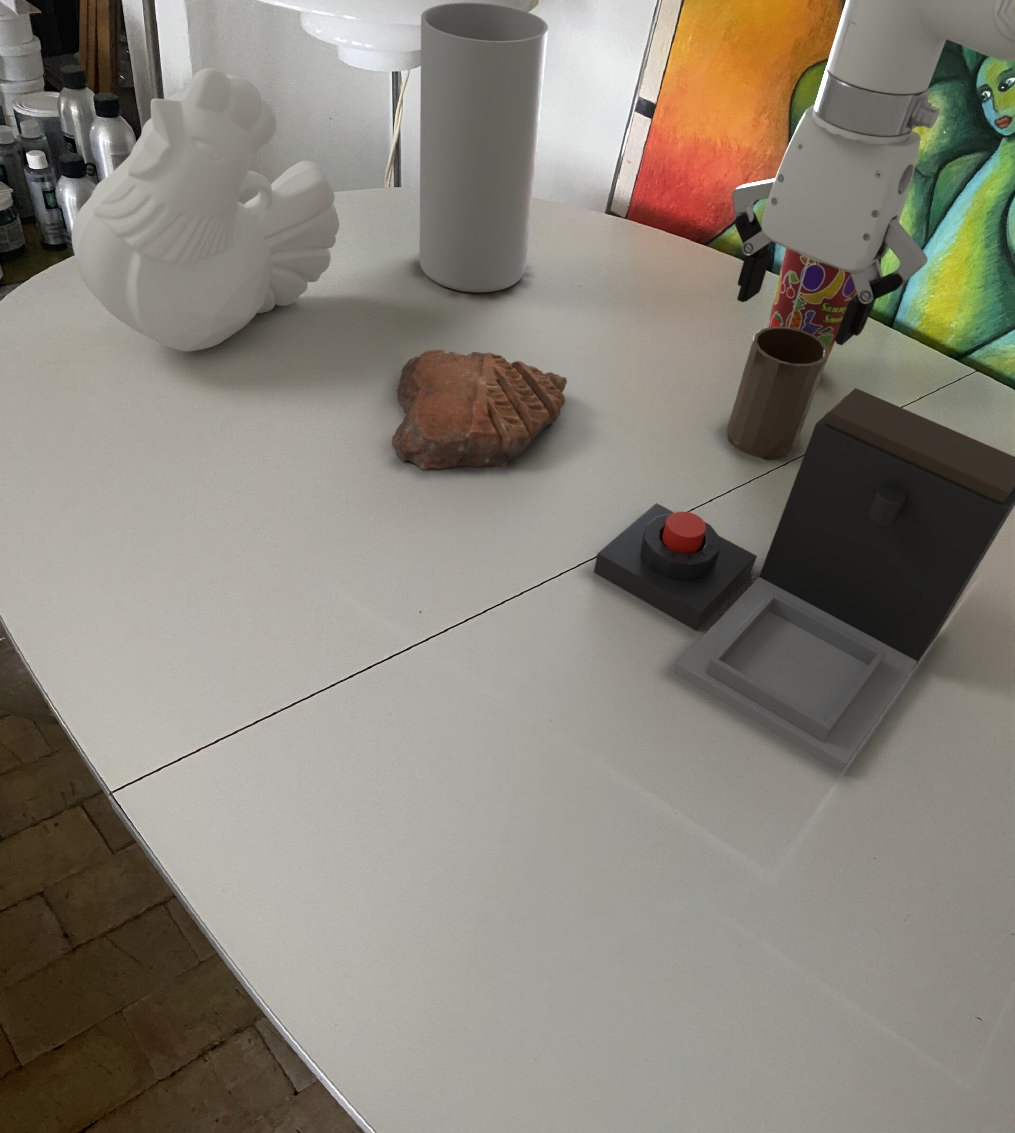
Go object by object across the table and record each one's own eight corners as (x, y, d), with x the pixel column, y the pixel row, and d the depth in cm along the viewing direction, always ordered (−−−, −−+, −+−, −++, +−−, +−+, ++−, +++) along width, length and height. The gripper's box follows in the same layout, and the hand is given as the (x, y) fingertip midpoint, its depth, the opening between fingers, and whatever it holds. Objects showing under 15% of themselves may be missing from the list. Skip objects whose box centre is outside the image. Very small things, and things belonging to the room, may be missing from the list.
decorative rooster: (59, 327, 85) (204, 92, 73) (33, 219, 92) (162, -13, 80) (286, 418, 104) (431, 242, 92) (251, 322, 111) (382, 147, 99)
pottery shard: (561, 386, 98) (566, 350, 95) (568, 478, 87) (573, 441, 84) (402, 375, 97) (402, 339, 94) (389, 466, 86) (389, 429, 84)
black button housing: (750, 575, 80) (763, 539, 78) (695, 632, 76) (707, 595, 73) (651, 522, 84) (660, 485, 81) (593, 573, 79) (600, 536, 76)
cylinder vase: (397, 262, 112) (395, 12, 94) (477, 236, 118) (489, -4, 100) (467, 306, 107) (479, 50, 88) (547, 276, 113) (574, 30, 94)
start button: (708, 540, 77) (713, 523, 76) (688, 559, 76) (693, 543, 74) (675, 522, 79) (679, 506, 77) (654, 541, 77) (658, 524, 76)
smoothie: (811, 399, 99) (882, 201, 84) (738, 371, 102) (795, 174, 87) (839, 366, 104) (910, 173, 89) (768, 340, 107) (827, 148, 92)
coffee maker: (935, 637, 77) (1039, 464, 64) (840, 773, 67) (941, 601, 55) (782, 557, 82) (850, 382, 70) (673, 673, 72) (729, 494, 60)
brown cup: (806, 438, 95) (840, 346, 87) (775, 468, 91) (807, 374, 83) (747, 410, 97) (775, 318, 90) (713, 438, 93) (739, 345, 86)
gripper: (994, 128, 71) (902, 340, 84) (788, 61, 77) (731, 268, 90) (958, 154, 67) (867, 372, 79) (743, 81, 73) (691, 295, 86)
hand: (795, 317), depth 85 cm, fingers open, 9 cm apart
